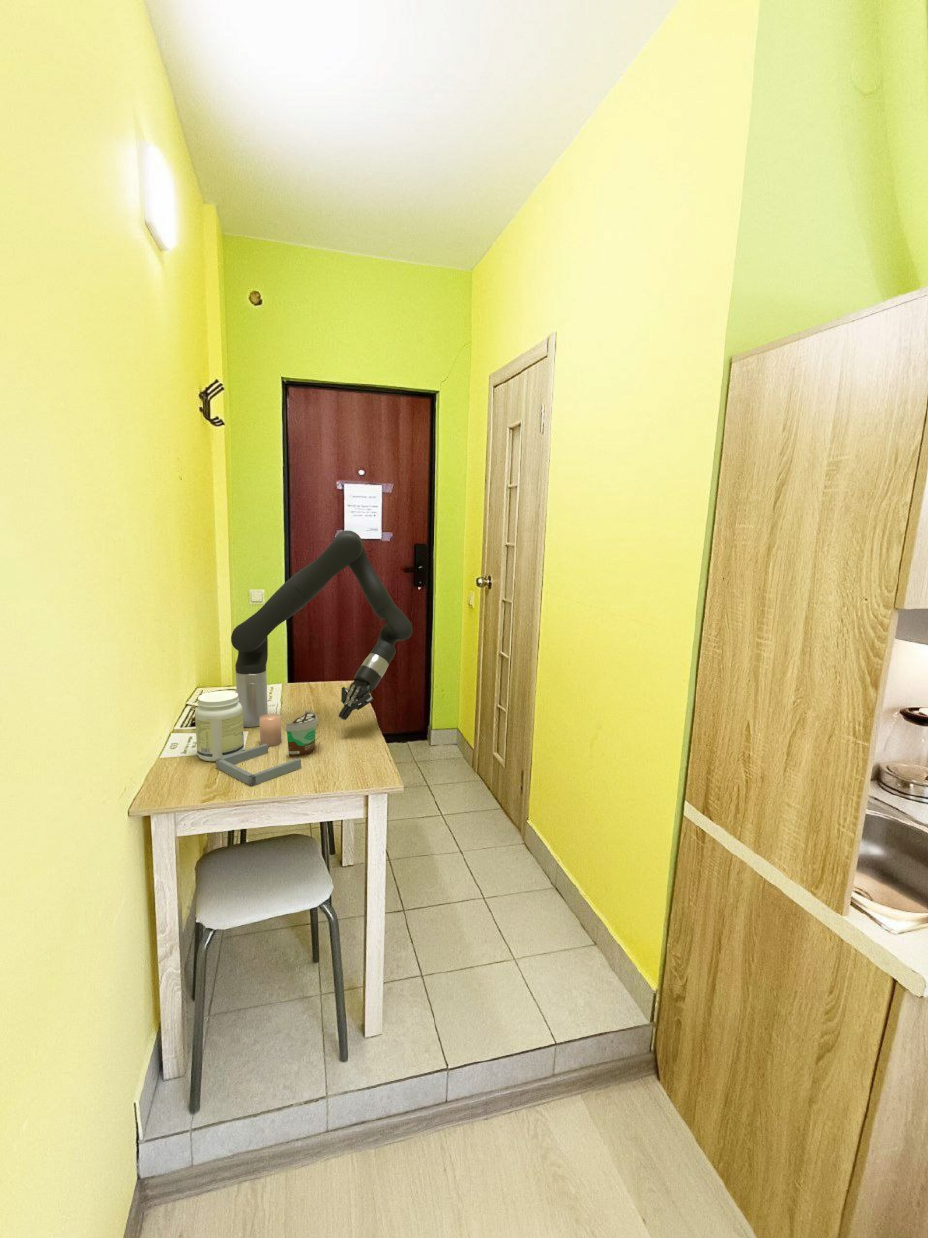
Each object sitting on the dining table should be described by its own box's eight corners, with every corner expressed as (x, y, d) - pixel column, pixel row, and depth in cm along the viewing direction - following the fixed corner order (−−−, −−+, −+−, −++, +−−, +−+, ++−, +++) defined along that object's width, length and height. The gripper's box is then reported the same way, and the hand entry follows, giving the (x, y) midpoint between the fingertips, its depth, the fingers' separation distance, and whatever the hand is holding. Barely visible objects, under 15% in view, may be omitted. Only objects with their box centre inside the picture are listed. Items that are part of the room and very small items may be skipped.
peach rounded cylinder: (256, 743, 172) (255, 717, 171) (273, 737, 177) (273, 712, 175) (268, 748, 168) (267, 721, 167) (285, 742, 173) (285, 716, 172)
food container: (306, 760, 160) (306, 726, 159) (286, 758, 162) (285, 724, 160) (326, 744, 172) (325, 711, 171) (306, 742, 174) (306, 710, 172)
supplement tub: (244, 744, 171) (242, 688, 168) (243, 760, 160) (241, 700, 157) (199, 748, 167) (196, 691, 164) (194, 765, 156) (191, 704, 153)
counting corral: (216, 768, 154) (216, 759, 154) (265, 751, 166) (265, 743, 165) (251, 786, 144) (251, 777, 144) (301, 767, 156) (300, 759, 155)
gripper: (351, 661, 185) (320, 707, 177) (380, 668, 177) (349, 717, 169) (363, 674, 190) (334, 719, 182) (392, 681, 182) (363, 729, 174)
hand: (341, 718), depth 176 cm, fingers closed
